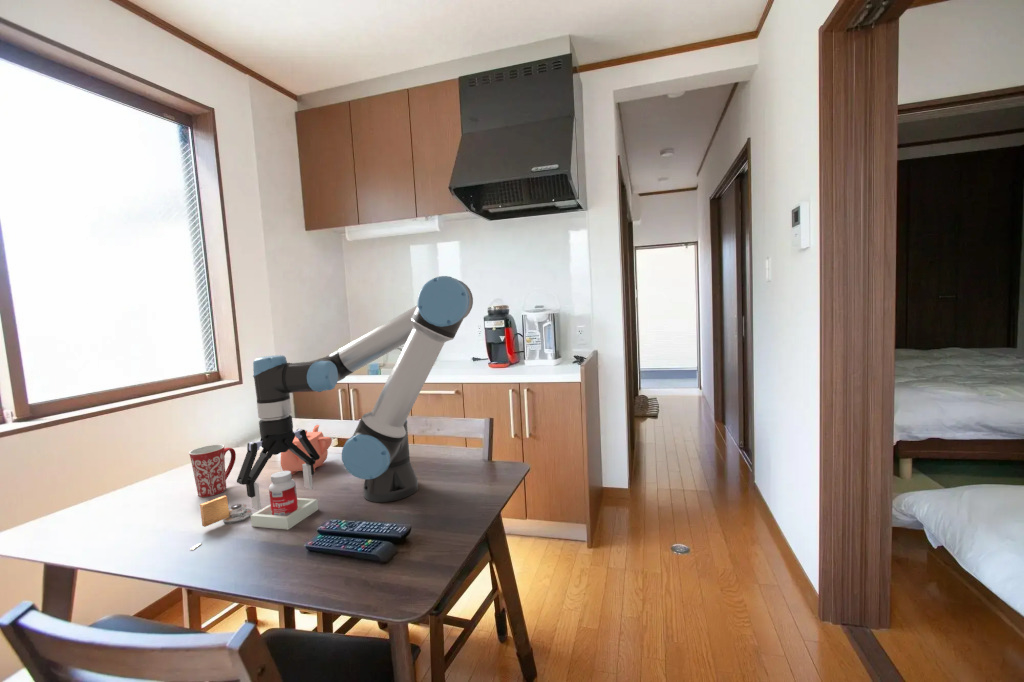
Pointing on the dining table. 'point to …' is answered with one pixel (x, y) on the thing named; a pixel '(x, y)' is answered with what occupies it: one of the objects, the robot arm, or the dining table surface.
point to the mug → (211, 468)
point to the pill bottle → (283, 494)
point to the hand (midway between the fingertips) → (284, 498)
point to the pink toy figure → (295, 463)
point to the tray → (284, 522)
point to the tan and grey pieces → (220, 510)
